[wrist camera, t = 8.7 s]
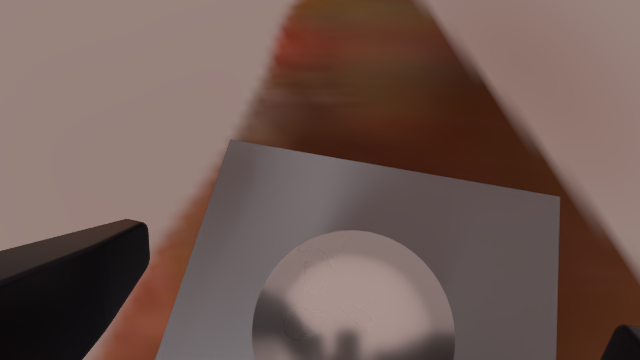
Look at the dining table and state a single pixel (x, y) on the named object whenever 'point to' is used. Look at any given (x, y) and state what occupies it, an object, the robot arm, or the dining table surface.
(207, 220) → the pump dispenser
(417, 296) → the pump plunger
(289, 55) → the dining table surface
